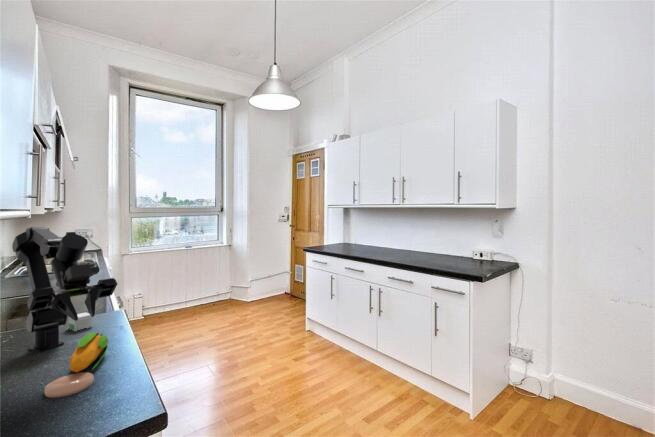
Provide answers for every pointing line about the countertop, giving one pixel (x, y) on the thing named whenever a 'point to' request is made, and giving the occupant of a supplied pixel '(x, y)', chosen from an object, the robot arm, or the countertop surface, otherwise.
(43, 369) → the countertop surface
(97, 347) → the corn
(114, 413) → the countertop surface
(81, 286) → the robot arm
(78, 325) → the small box
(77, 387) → the pink flat disc
